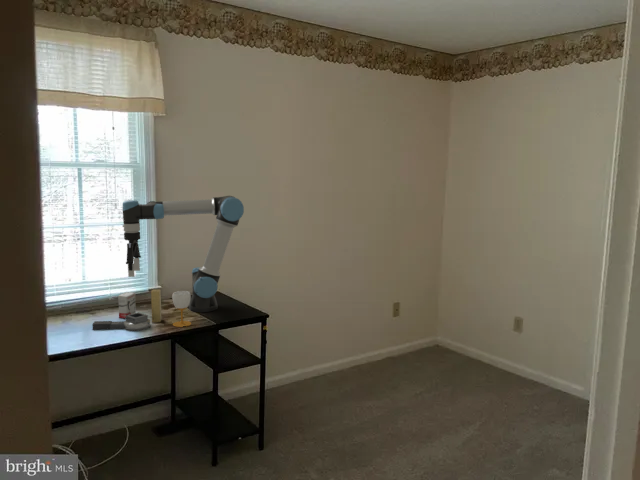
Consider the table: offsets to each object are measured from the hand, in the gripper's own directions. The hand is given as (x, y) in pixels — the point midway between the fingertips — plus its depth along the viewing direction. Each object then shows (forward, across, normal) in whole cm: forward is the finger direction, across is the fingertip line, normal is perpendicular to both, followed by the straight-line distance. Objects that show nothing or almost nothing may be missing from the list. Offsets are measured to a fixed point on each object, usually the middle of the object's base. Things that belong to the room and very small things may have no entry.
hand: (134, 273), depth 269 cm
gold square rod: (+24, +3, +10) cm, 26 cm away
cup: (+25, +9, +23) cm, 35 cm away
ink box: (+24, -6, -6) cm, 26 cm away
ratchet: (+24, +12, -5) cm, 27 cm away
